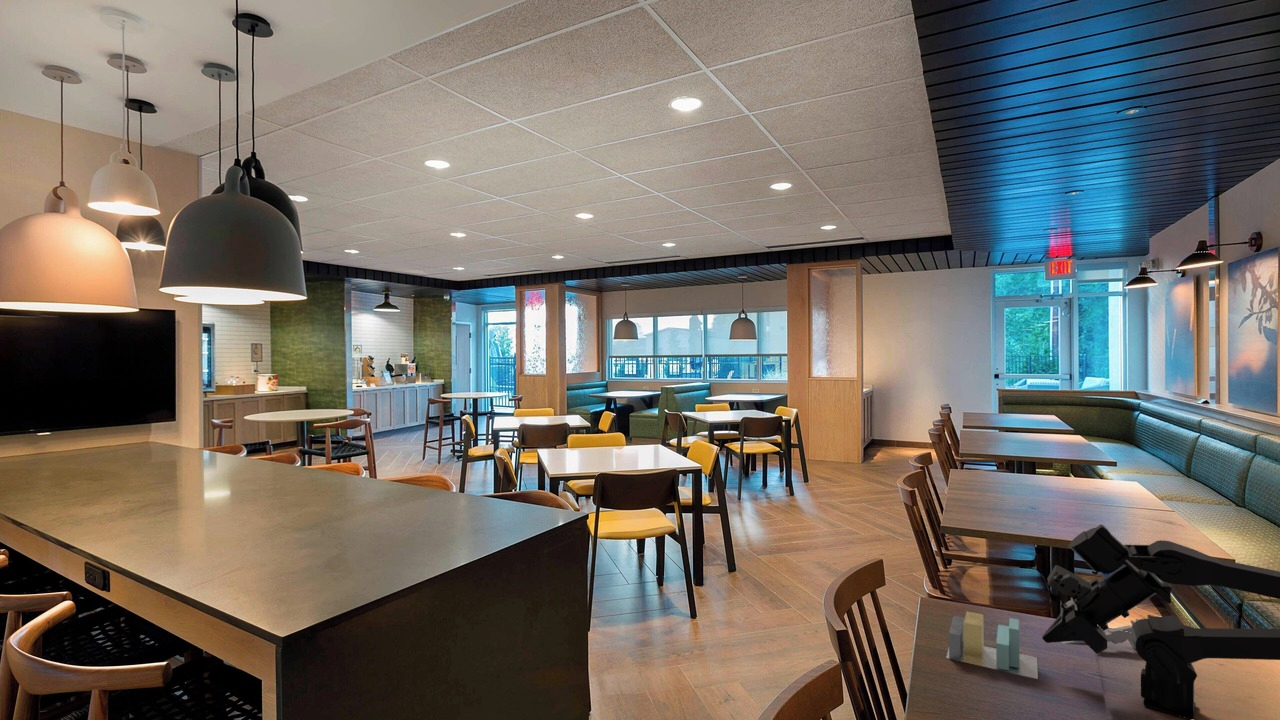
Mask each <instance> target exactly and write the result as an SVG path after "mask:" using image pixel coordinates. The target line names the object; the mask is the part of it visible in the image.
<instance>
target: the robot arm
mask: <svg viewBox="0 0 1280 720" xmlns="http://www.w3.org/2000/svg"><path fill="white" fill-rule="evenodd" d="M1068 547H1069V548H1070V549H1071V550H1072V551H1073V553H1075V554H1076V555H1077V556H1078V557H1080V558H1081V560H1082V561H1083V562H1085V563H1086V564H1087V566H1089V567H1090V568H1091V569H1092V570H1093V571H1094V572H1096V573H1102V574H1103V575H1108V574H1109V575H1108V576H1107V577H1105V578H1103V579H1099V578H1097V579H1096V578H1093V579H1091V580H1089V581H1088V580H1086V579H1084V578H1082V577H1081V576H1079V575H1078V574H1075V573H1073V572H1072V571H1069V570H1068V569H1066V568H1064V567H1062V566H1060V565H1057V564H1056V565H1054V567H1053V568H1052V570H1051V572H1050V573H1049V574H1048V577H1047V578H1046V579H1047V585H1048V587H1050V588H1051V589H1053V590H1055V591H1059V592H1060V593H1061V594H1063V595H1064V596H1068V597H1070V600H1068V601H1067V602H1065V601H1064V600H1063V599H1061V600H1060V613H1059V615H1058V616H1057V618H1056V619H1055V620H1054V621H1053V622H1052V624H1051V625H1050V626H1049V627H1048V628H1047V630H1046V631H1045V632H1044V633H1043V634H1042V636H1041V639H1042V640H1043V641H1044V642H1045V643H1047V644H1049V643H1061V642H1066V641H1084V642H1085V643H1084V644H1085V645H1087V646H1088V647H1089V648H1090V649H1091V650H1092V652H1094V653H1095V654H1097V655H1098V654H1100V653H1102V652H1104V651H1105V650H1107V649H1108V642H1107V638H1106V634H1105V632H1106V630H1109V629H1110V628H1109V625H1108V624H1109V623H1111V622H1112V621H1114V620H1116V619H1117V618H1119V617H1120V616H1121V617H1123V618H1124V619H1125V618H1127V617H1129V616H1130V613H1129V612H1130V610H1132V609H1133V608H1135V607H1136V606H1138V605H1140V604H1142V603H1143V602H1145V601H1147V600H1149V599H1150V598H1151V597H1154V596H1155V595H1157V596H1159V598H1161V599H1162V600H1163V601H1164V603H1166V604H1171V603H1172V595H1171V594H1172V591H1173V587H1172V585H1183V586H1189V587H1190V586H1191V587H1201V586H1202V587H1203V586H1204V587H1205V586H1216V587H1223V588H1227V589H1233V590H1236V591H1237V590H1238V591H1241V592H1245V593H1251V594H1255V595H1259V596H1264V597H1268V598H1273V599H1278V600H1280V571H1279V570H1274V569H1269V568H1264V567H1260V566H1254V565H1251V564H1250V565H1249V564H1244V563H1240V562H1236V561H1235V562H1234V561H1230V560H1226V559H1220V558H1217V557H1215V556H1214V557H1213V556H1211V555H1209V554H1205V553H1203V552H1201V551H1198V550H1196V549H1194V548H1191V547H1188V546H1185V545H1183V544H1179V543H1175V542H1174V541H1173V542H1172V541H1170V540H1162V539H1161V540H1156V541H1154V542H1153V543H1150V544H1122V543H1121V542H1120V541H1119V540H1118V538H1116V537H1115V536H1114V535H1113V534H1112V533H1111V531H1109V529H1108V528H1107V527H1106V526H1105V525H1103V524H1098V525H1097V526H1096V527H1092V528H1090V529H1088V530H1086V531H1085V530H1083V531H1082V532H1080V533H1079V534H1077V535H1076V536H1075V537H1074V538H1073V539H1072V540H1071V541H1070V542H1069V544H1068ZM1155 576H1156V577H1155ZM1157 578H1158V579H1159V580H1158V579H1157ZM1160 580H1161V581H1162V582H1161V581H1160ZM1171 584H1172V585H1171ZM1178 617H1179V616H1177V615H1166V616H1155V615H1151V614H1147V618H1141V619H1139V620H1138V621H1136V620H1135V621H1136V623H1135V624H1134V625H1133V626H1132V625H1131V626H1132V629H1131V636H1132V639H1133V642H1134V645H1135V648H1136V649H1135V650H1136V652H1137V655H1138V656H1139V657H1140V658H1141V659H1142V660H1143V661H1144V662H1145V666H1144V668H1142V669H1141V672H1140V697H1141V698H1142V699H1143V706H1144V707H1146V708H1149V709H1153V710H1156V711H1158V712H1159V711H1160V712H1162V713H1166V714H1169V715H1173V716H1175V715H1176V717H1179V716H1181V717H1180V718H1182V717H1185V718H1188V719H1187V720H1189V719H1195V718H1196V717H1195V716H1196V702H1195V681H1196V679H1197V678H1198V674H1197V672H1196V669H1195V667H1194V666H1193V664H1194V663H1196V662H1198V661H1199V662H1200V661H1201V660H1205V659H1219V660H1220V659H1225V660H1227V659H1229V660H1261V661H1263V660H1265V661H1267V660H1268V661H1280V628H1222V627H1220V628H1217V627H1216V628H1212V627H1210V628H1203V627H1202V628H1198V627H1192V626H1187V625H1185V624H1182V622H1181V621H1180V619H1179V618H1178ZM1185 718H1184V719H1185ZM1195 720H1196V719H1195Z"/></svg>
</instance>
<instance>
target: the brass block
mask: <svg viewBox="0 0 1280 720" xmlns="http://www.w3.org/2000/svg"><path fill="white" fill-rule="evenodd" d="M984 629H985V628H984V614H982V613H977V612H971V611H965V616H964V658H965V659H969V660H974V661H978V662H982V658H983V651H984V646H985V644H984V641H985V640H984V636H985V635H984V633H985V632H984Z"/></svg>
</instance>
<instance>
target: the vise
mask: <svg viewBox="0 0 1280 720" xmlns="http://www.w3.org/2000/svg"><path fill="white" fill-rule="evenodd" d="M964 620H965V617H963V616H958V615H953V617H952V621H951V623H950V627H949V631H948V649H947V652H946V656H945V658H946V659H949V660H954V661H959V662H962V663H965V664H966V663H967V664H970V665H975V666H980V667H984V668H988V669H993V670H997V671H1001V672H1005V673H1010V674H1013V675H1018V676H1023V677H1026V678H1031V679H1036V680H1038V679H1039V675H1038V657H1036V656H1033V655H1027V654H1023V653H1019V668H1016V667H1012V666H1009V671H1008V670H1004V669H999V668H997V667H996V647H992V646H991V647H990V646H986V645H984V651H983V658H982V662H978V661H974V660H969V659H965V658H964Z"/></svg>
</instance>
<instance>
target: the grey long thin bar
mask: <svg viewBox="0 0 1280 720" xmlns="http://www.w3.org/2000/svg"><path fill="white" fill-rule="evenodd" d="M1138 620H1140V619H1139V618H1136V619H1135V621H1134V620H1132V619H1130V623H1131V625H1130V624H1129V625H1128V624H1127V625H1124V626H1123V625H1122V626H1119V627H1115V628H1111V629H1110V628H1108V629H1107V630H1108V631H1104V632H1105V634H1106V638H1107V643H1108V642H1111V643H1112V644H1114V645H1117V644H1120V643H1121V644H1122V643H1124V642H1127V640H1128V642H1129V644H1130V646H1131V648H1132V649H1135V650H1136V648H1135V645H1134V642H1133V639H1132V636H1131V633H1130V632H1131V629H1132V626H1133V625H1134V624H1135V623H1136V621H1138ZM1113 629H1117V630H1113ZM1120 630H1123V631H1120ZM1125 631H1128V632H1125ZM1060 643H1061V644H1064V645H1065V644H1067V645H1070V644H1073V645H1074V644H1075V645H1077V644H1078V645H1079V644H1086V643H1085V642H1084V641H1066V642H1060Z"/></svg>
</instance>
